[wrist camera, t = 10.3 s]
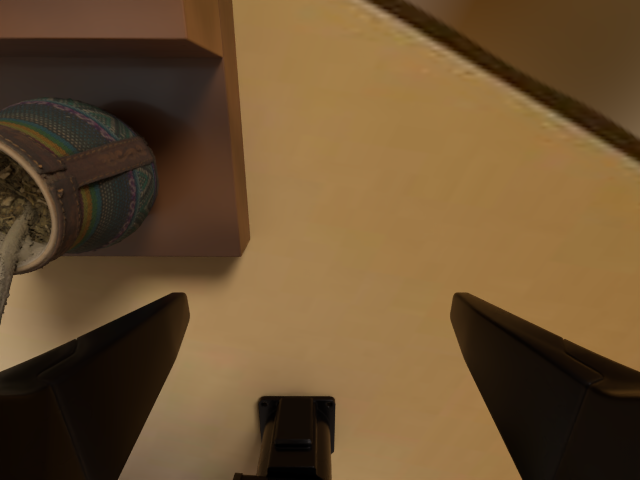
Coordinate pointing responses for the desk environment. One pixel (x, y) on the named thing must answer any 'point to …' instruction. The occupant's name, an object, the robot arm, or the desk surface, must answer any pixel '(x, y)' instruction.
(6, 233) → the mate gourd
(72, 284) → the desk surface
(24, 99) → the step shelf
